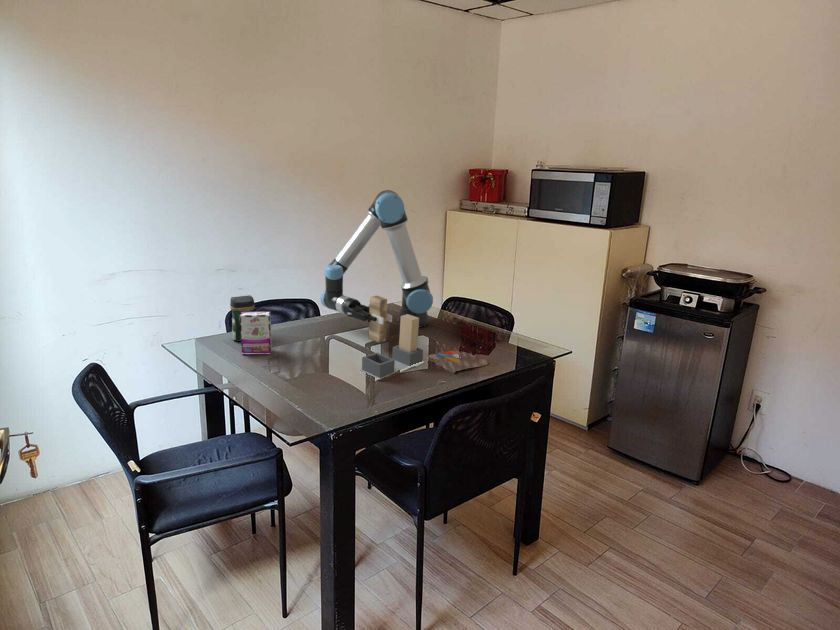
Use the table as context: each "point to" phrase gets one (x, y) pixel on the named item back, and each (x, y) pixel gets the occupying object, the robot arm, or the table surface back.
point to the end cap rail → (396, 351)
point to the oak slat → (380, 309)
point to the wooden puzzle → (446, 356)
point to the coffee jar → (237, 307)
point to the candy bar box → (255, 332)
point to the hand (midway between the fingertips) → (387, 320)
